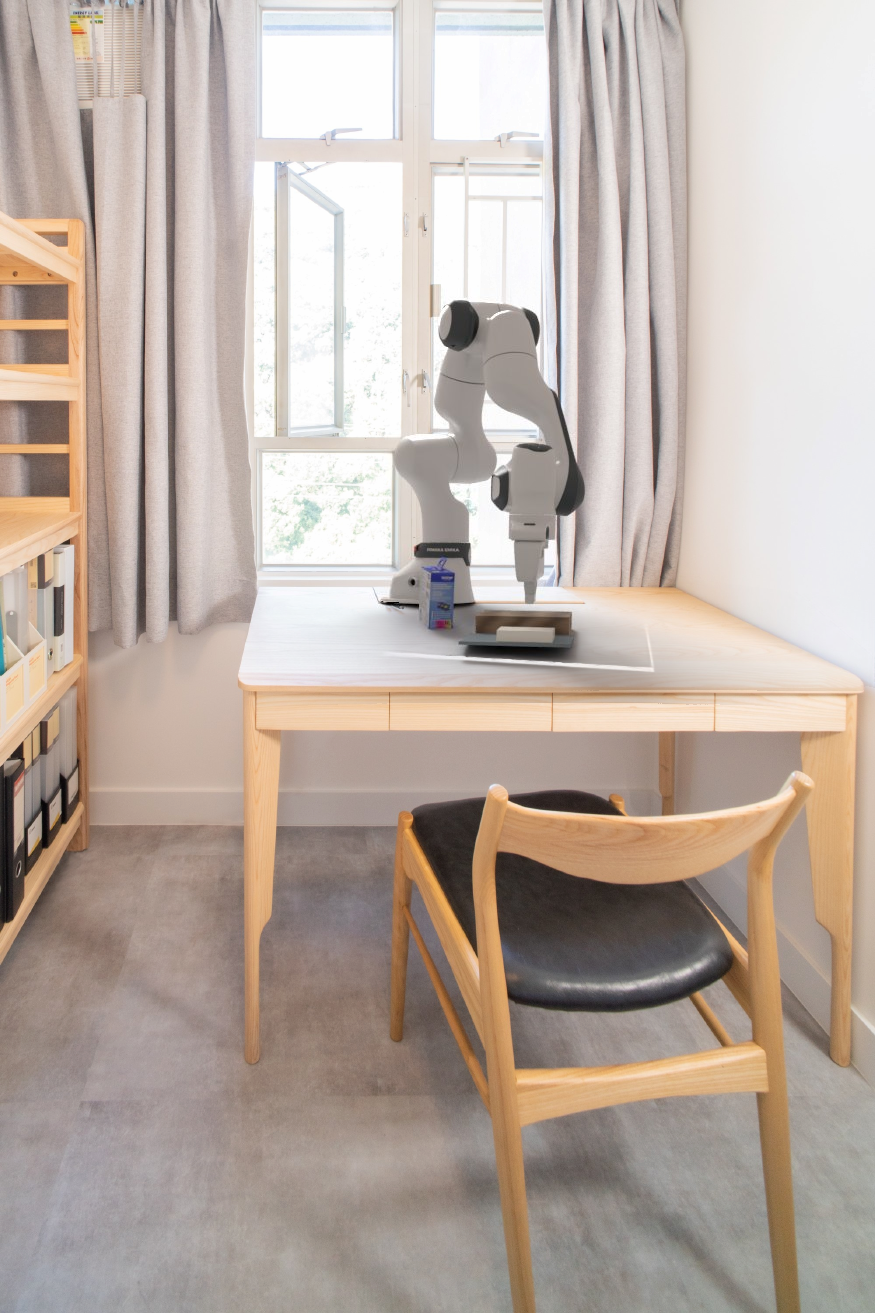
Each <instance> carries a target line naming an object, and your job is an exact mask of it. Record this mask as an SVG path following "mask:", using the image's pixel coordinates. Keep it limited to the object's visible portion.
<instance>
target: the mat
mask: <svg viewBox="0 0 875 1313" xmlns="http://www.w3.org/2000/svg"><path fill="white" fill-rule="evenodd" d="M496 638H497V633H475V632H470V633H467V634H466V636H464V637H462V638H461V639H459V640H458V643H457V644H458V645H459V646H460V645H464V646H496V647H497V646H499V647H500V646H502V647H534V648H535V647H538V648H543V647H544V648H571V647H572V645H573V642H574V639H575V635H572V634H570V635H555V639H554V641H553V643H543V642H504V641H496Z"/></svg>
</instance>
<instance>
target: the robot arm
mask: <svg viewBox="0 0 875 1313" xmlns="http://www.w3.org/2000/svg"><path fill="white" fill-rule="evenodd" d="M540 324H541V323H540V321H539V317H538V316H537V313H535V312H534V311H532V310H530V309H528V308H526V307H523V306H516V305H512V304H508V303H504V302H499V301H494V300H493V301H489V300H480V299H479V300H478V299H468V298H467V297H463V298H453V299H449V300H448V301H447V302H446V303H445V304H444V305H443V307H442V309H441V311H440V314H439V319H438V330H437V331H438V337H439V339H440V341H441V343H442V344H443V346H444V347H445V351H444V355H443V357H442V361H441V364H440V369H439V375H438V379H437V384H436V390H435V395H434V399H433V404H434V407H435V408H434V409H435V411H436V412H437V414H438V415H439V417H442V418H443V419H444V421H446V422H448V433H447V435H444V434H432V433H431V434H430V433H429V434H428V433H427V434H426V433H419V434H414V435H408V436H404V437H403V438H401V440H399V442H398V444H397V445H396V448H395V451H394V456H393V461H394V466H395V469H396V471H397V472H398V474H399V475H400V477H402V478H403V479H404V480H405V481H406V482H407V483H408V484H409V485H410V487H411V488H412V491H414V494H416V497H417V500H418V503H419V506H420V513H421V524H422V526H421V528H422V542H420V543H418V544H416V545H414V546H413V556H414V557H415V558H413V559H411V561H410V562H408V563H407V564H406V565H405V566H404V567H402V568H401V569H399V570H398V571H397V572H396V573H395V574H393V577H392V578H391V581H390V582H391V583H390V589H389V595H388V596H389V597H383V596H381V597H380V601H381V600H382V601H396V602H399V603H398V604H417V605H419V600H420V579H421V567H427V566H436V567H437V565H438V563H439V561H440V560H441V558H442V557H444V558H446V559H447V561H446V563H445V564H444V566H443V567H445V568H446V569H448V570H450V571H452V572H454V573H455V582H454V603H453V604H465V603H466V604H468V603H474V602H476V598H475V596H474V591H473V585H472V579H471V571H470V569H471V568H470V566H471V565H472V564H471V563H472V548H471V546H472V544H471V542H470V513H469V509H468V506H467V505H465V503H463V502H462V501H461V500H458V499H457V498H456V497H455V496H454V495H453V492H452V490H451V487H450V486H451V485H450V484H462V485H463V484H465V485H470V484H476V483H481V482H486V481H488V480H489V479H490V480H491V481H490V500H491V502H492V503H493V504H494V506H495V507H496V508H497V509H498V510H499V511H501V512H506V513H509V515H508V540H510V541H512V542H513V541H514V542H513V554H514V570H515V577H516V580H517V582H518V583H523V589H524V603H525V605H526V604H527V605H533V604H534V603H535V602H536V598H537V597H536V595H537V588H538V580H540V579H541V578H543V576H544V572H545V550H547V549H549V541H555V540H556V531H557V530H556V529H557V528H556V527H557V526H556V524H557V523H556V522H557V516H562V517H568V516H570V515H571V514H573V513H574V512H575V511H576V510H577V509H579V507H580V506H581V505H582V504H583V502H584V500H585V494H586V486H585V479H584V477H583V474H582V472H581V470H580V467H579V465H578V462H577V460H576V456H575V452H574V449H573V445H572V440H571V438H570V433H569V430H568V427H567V426H568V425H567V422H566V419H565V415H564V411H563V407H562V405H561V401H560V398H559V396H558V394H557V392H556V391H555V390H553V389H552V388H550V387H549V385H548V384H547V383H546V382H545V380H544V378H543V376H542V374H541V372H540V368H539V364H538V363H539V362H538V354H537V346H538V344H539V341H540V334H541V325H540ZM486 393H487V396H488V397H489V399H490V400H492V402H493V403H494V404H495V405H497V407H499V408H500V409H503V411H506V412H508V413H511V414H513V415H517V416H519V417H522V418H524V419H526V420H527V421H530V422H531V423H533V424H534V425H536V426H537V427H538V428H539V429H540V431H541V432H542V435H543V437H544V442H545V444H544V443H543V444H542V443H533V442H524V443H518V444H516V445H515V446H514V448H513V450H512V456H511V459H510V460H509V461H508V462H507V463H505V464H502V465H500V466H499V467H498V468H497V463H498V457H497V452H496V449H495V448H494V445H493V444H492V443H491V442H490V440H488V438H487V436H486V433H485V430H484V427H483V407H484V401H485V396H486ZM496 468H497V469H496ZM442 564H443V561H442V562H441V565H442Z"/></svg>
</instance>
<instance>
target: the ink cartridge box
mask: <svg viewBox="0 0 875 1313" xmlns="http://www.w3.org/2000/svg"><path fill="white" fill-rule="evenodd" d="M442 561H443V564H442V565H441V562H442ZM446 561H447V559H446V558H444V557H442V558H441V560H440V561H439V563H438V565H437V567H436V566H427V567H421V579H420V600H419V604H418V605H419V607H418V621H419V622H421V623H422V625H423V626H425V627H426V628H427V629H429V630H430V629H431V630H432V629H433V630H435V629H438V630H439V629H453V626H454V625H453V624H454V623H453V622H454V604H455V603H454V582H455V573H454V572H452V571H450V570H448V569H446V568H445V567H443V566H444V564H445V563H446Z"/></svg>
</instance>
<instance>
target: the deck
mask: <svg viewBox="0 0 875 1313" xmlns="http://www.w3.org/2000/svg"><path fill="white" fill-rule="evenodd" d="M572 621H573V611H564V610H563V611H560V610H559V611H558V610H557V611H556V610H555V611H554V610H553V611H552V610H551V611H550V610H547V611H546V610H542V611H541V610H509V609H508V610H507V609H506V610H505V609H504V610H503V609H500V610H499V609H484V610H482V611H480V612H479V613H478V614H476V615H475V632H474V633H497V629H499V628H500V627H542V628H555V635H572V634H571V633H572V626H573V624H572V623H573V622H572Z"/></svg>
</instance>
